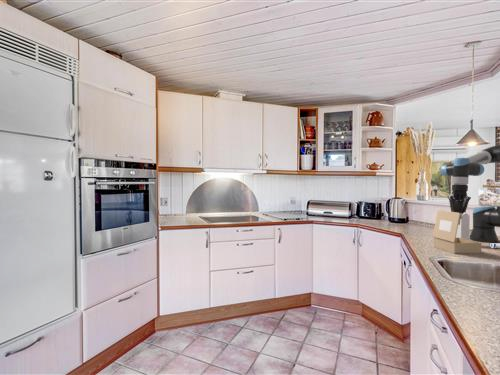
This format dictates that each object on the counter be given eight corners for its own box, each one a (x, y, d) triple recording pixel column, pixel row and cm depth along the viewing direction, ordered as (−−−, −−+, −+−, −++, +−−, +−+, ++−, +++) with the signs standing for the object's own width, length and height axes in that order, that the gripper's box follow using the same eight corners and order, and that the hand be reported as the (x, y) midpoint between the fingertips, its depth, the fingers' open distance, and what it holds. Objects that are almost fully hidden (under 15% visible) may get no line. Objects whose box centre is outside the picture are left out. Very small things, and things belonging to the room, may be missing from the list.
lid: (442, 210, 176) (437, 209, 176) (464, 213, 159) (459, 212, 159) (437, 237, 176) (432, 237, 176) (458, 243, 159) (453, 242, 159)
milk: (460, 243, 187) (461, 209, 186) (469, 245, 181) (469, 210, 180) (452, 243, 186) (453, 209, 185) (461, 245, 180) (461, 210, 179)
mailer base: (458, 246, 177) (458, 237, 177) (481, 253, 161) (481, 242, 161) (433, 247, 176) (433, 237, 175) (454, 253, 160) (454, 243, 159)
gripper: (464, 185, 172) (462, 224, 172) (445, 183, 171) (442, 223, 171) (475, 185, 164) (472, 225, 165) (455, 183, 163) (452, 224, 164)
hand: (457, 224), depth 168 cm, fingers closed
